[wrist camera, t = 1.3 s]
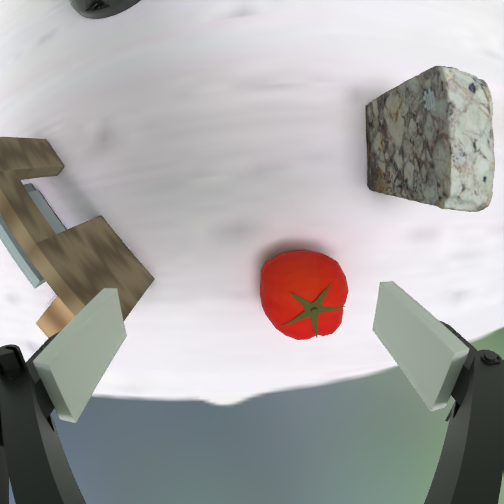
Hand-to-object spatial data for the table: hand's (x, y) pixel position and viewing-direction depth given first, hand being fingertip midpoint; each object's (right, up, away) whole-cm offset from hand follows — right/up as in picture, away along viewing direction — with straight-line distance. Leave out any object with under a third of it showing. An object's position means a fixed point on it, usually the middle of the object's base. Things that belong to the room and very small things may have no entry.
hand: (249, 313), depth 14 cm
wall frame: (-23, +8, +25) cm, 34 cm away
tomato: (+7, -1, +28) cm, 29 cm away
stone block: (+18, +18, +23) cm, 35 cm away
